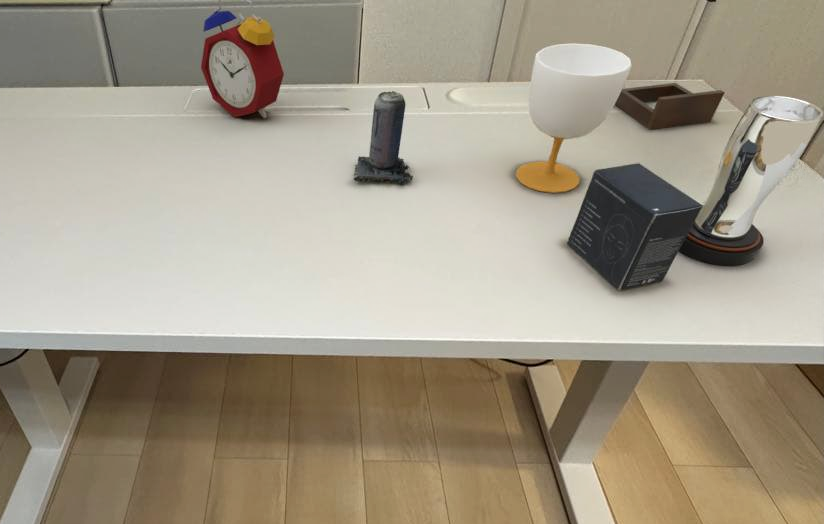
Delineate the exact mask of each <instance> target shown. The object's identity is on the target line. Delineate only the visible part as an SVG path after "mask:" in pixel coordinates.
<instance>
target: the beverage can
mask: <svg viewBox="0 0 824 524" xmlns="http://www.w3.org/2000/svg"><path fill="white" fill-rule="evenodd" d="M406 105H407V104H406V100H405V98H404V95H403V93H400V92H397V91H394V90H392V91H383V92H381V93H379V94H378V95H377V97H376V99H375V100H374V104H373V112H372V124H371V134H370V144H369V153H368V156H358V158H357V164H355V165H354V166H355V168H354V171H353V172H354V173H353V180H354V181H355V182H357V183H362V182H364V183H367V182H368V181H375V180H378V182H380V181H382V183H388V184H389V183H390V181H392V182H393V183H395V182H396V183H397V184H398V185H403V184H405V183H408V180H407V179H409V181H414V179H413V178H414V175H411V173H409V172H406V171H408V170H409V169H411V167H410V166H409V165H407V164H406V163H405V159H404V158H401V157H399V155H400V146H401V140H402V134H403V126H404V120H405V111H406Z"/></svg>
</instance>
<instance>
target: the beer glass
mask: <svg viewBox="0 0 824 524" xmlns="http://www.w3.org/2000/svg"><path fill="white" fill-rule="evenodd" d="M823 116H824V111H823V110H822V109H821V108H820V107H819V106H817V105H816V104H814V103H811V102H809V101H807V100H803V99H801V98H796V97H792V96H785V95H762V96H758V97H755V98H752V100H751V101H750V103H749V105H748V106H747V108H746V110H745V111H744V113H743V114H742V116H741V118H740V119H739V121H738V122H737V124H736V126H735V128H734V129H733V132H732V133H731V135H730V137H729V139H728V141H727V142H726V145H725V148H724V150H723V153H722V155H721V158H720V161H719V162H720V163H719V164H718V168H717V172H716V175H715V179H714V182H713V184H712V187H711V190H710V193H709V195H708V196H707V198H706V200H705V201H704V203H702V205H703V207H702V209H701V210H700V212H699V214H698V216H697V218H696V220H695V222H694V223H693V224H694V226H695V227H696V228H697V229H698V230H699V231H701V232H703V233H704V234H707V235H709V236H712V237H715V238H719V239H725V240H736V239H741V238H743V237H745V236H746V235H747V234H748V232H749V230H750V228H751V225H752V224H753V222H754V219H755V216H756V214H757V212H758V210H759V209H760V207H761V206H762V204H763V202H765V200H766V199H767V198H768V197H769V195H770V194H772V192H774V190H775V189H776V188H777V187H778V186H779V184H780V183H782V181H783V180H784V179H785V177H786V176H787V175H788V174H789V173H790V171H792V169H793V168H794V166H795V165H796V164H797V162H798V160H799V159H800V158H801V156H802V155H803V153H804V151H805V150H806V148H807V146H808V144H809V143H810V140H811V138H812V136H813V135H814V132H815V131H816V129H817V127H818V124H819V123H820V121H821V119H822V118H823Z"/></svg>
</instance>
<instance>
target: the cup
mask: <svg viewBox="0 0 824 524" xmlns="http://www.w3.org/2000/svg"><path fill="white" fill-rule="evenodd" d="M632 66H633V65H632V61H631V58H630V57H629V56H627V55H625V53H623V52H621V51H619V50H616V49H614V48H613V49H612V48H611V47H607V46H601V45H596V44H590V43H574V42H573V43H560V44H553V45H549V46H546V47H543V48H542V49H540V50H539V51H538V52H536V53H535V56H534V61H533V67H532V71H531V77H530V86H529V96H528V110H529V111H528V114H529V116H530V119H531V121H532V124H533V125H534V126H535V128H537V129H538V130H539V132H541V133H543V134H545V135H546V136H549V137H551V138H553V143H552V147H551V151H550V154H549V157H548V159H547V161H533V162H529V163H526V164H522V165H521V166H519V167H518V168H517V169H516V172H515V178H516V179H517V180H518V181H519V183H520V184H522V185H523V186H525V187H526V188H528V189H531V190H534V191H537V192H541V193H549V194H561V193H567V192H570V191H572V190H575V189H576V188H577V187H578V186H579V185H580V176H579V174H578V173H576V171H575V170H573V169H571V168H569V167H568V166H565V165H563V164H559V163H556V162H557V158H558V155H559V152H560V149H561V147H562V144H563V142H564V141H565V140H572V139H578V138H581V137H584V136H586V135H589V134H591V133H592V132H593V131H594V130H595V129H597V128H598V127H600V125H601V124H602V123H603V122H604V121H605V120H606V119H607V117H608V116H609V114H610V113H611V111H612V110H613V108H614V107H615V106H616V105H615V103H616V101H617V99H618V97H619V95H620V92H621V90H622V89H624V87H625V84H626V81H627V79H628V76H629V74H630V72H631V69H632Z"/></svg>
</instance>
